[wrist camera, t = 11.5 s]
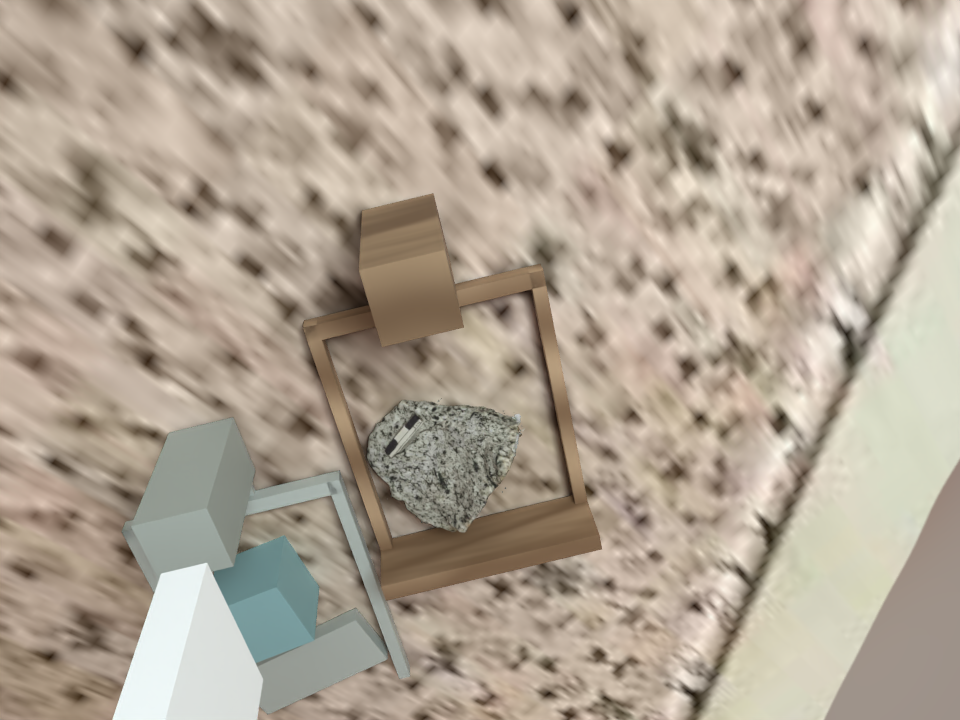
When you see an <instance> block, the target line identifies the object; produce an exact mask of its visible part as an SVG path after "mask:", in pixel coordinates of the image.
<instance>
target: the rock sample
mask: <svg viewBox="0 0 960 720" xmlns="http://www.w3.org/2000/svg"><path fill="white" fill-rule="evenodd" d="M441 399H442V398H441ZM437 402H439V400H438V401H437ZM503 412H504V411H503ZM504 414H505V413H504ZM514 416H515V417H513V416H512V417H510V416H504V415H502V414H500V413H497V412H495V410H492V409H488V408H485V407H471V406H469V405H461V406H453V407H451V406H444V405H438V404H435V403H433V402H426V401H420V402H414V401H407V400H402V401H401V402H400V403H399V404H398V405H397V406H395V407H394V409H393V410H392V411H391V412H390V413H389V414H388V415H386V416H385V417H384V418H383V420H382V421H381V422H379V423H377V424H376V426H375V428H374V430H373V432H372V433H371V434H370V436H369V440H368V449H367V451H368V453H367V460H368V461H369V463H370V465H371V467H372V468H373V470H374V471H375V472H376V473H377V475H378V476H380V477H381V478H382V479H383V480H384V481H385V482H386V483H388V485H389V487H390V491H391V494H392V496H393V497H394V498H396V499H397V500H401V501H404V502H405V505H406V508H407V509H408V510H409V511H410V512H411V513H412V514H415V515H417V516H416V517H418V518H419V519H420V520H421V523H422V522H424V523H428V524H431V525H433V526H435V527H437V528H443V529H446V530H448V531H451V532H456V531H457V530H458V531H459V532H462V533H465V532H466V531H467V530H468V528H469V527H470V525H471V524H472V522H473V520H474V519H475V518H476V517H477V516H478V514H479V513H480V512H481V509H482V508H483V507H484V506H485V505H486V503H487V499H488V496H489V495H490V494H491V493H492V492H493V490H494V489H495V488H496V487H497V486H498V484H501V481H502V480H503V479H504V477H505V476H506V474H507V472H508V471H509V469H510V467H511V464H512V462H513V459H514V457H515V456H516V454H515V453H516V450H515V449H517V444H518V438H519V437H521V435H522V434H521V433H520V432H521V430H520V429H519V427H518V425H519V424H520V417H521V416H520V415H519V414H515V415H514ZM519 430H520V432H519V433H518V431H519ZM523 430H524V429H523ZM520 434H521V435H520ZM505 489H506V488H505ZM502 493H503V491H502ZM392 496H391V497H392Z"/></svg>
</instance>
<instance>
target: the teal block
mask: <svg viewBox="0 0 960 720" xmlns="http://www.w3.org/2000/svg"><path fill="white" fill-rule="evenodd" d="M213 576H214V578H215V580H216V582H217V584H218V586H219V588H220V591H221V593H222V595H223V597H224V599H225V601H226V603H227V605H228V607H229V609H230V611H231V613H232V615H233V617H234V620H235V622H236V624H237V626H238V628H239V630H240V632H241V634H242V636H243V638H244V640H245V642H246V644H247V647H248V649H249V651H250V653H251V655H252V657H253V659H254V661H255V663H257V662H260V661H263V660H265V659H268V658H270V657H273V656H276V655H278V654H281V653H283V652H286V651H289V650H291V649H294V648H296V647H299V646H302V645H304V644H307V643H310V642H312V641H314V640H315V628H316V617H317V606H318V595H319V586H318V584H317V583H316V581H315V580H314V578H313V577H312V575H311V574H310V573H309V571H308V570H307V568H306V567H305V565H304V564H303V562H302V561H301V559H300V558H299V556H298V555H297V553H296V552H295V550H294V549H293V547H292V546H291V544H290V543H289V541H288V540H287V538H286V537H285V535H284V536H282V537H279V538H277V539H274V540H272V541H269V542H267V543H264V544H262V545H259V546H257V547H254V548H252V549H249V550H247V551H244V552H242V553H239V554H237V555H236V558H235V563H234V566H233V567H229V568H225V569H221V570H217V571H214V575H213Z"/></svg>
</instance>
